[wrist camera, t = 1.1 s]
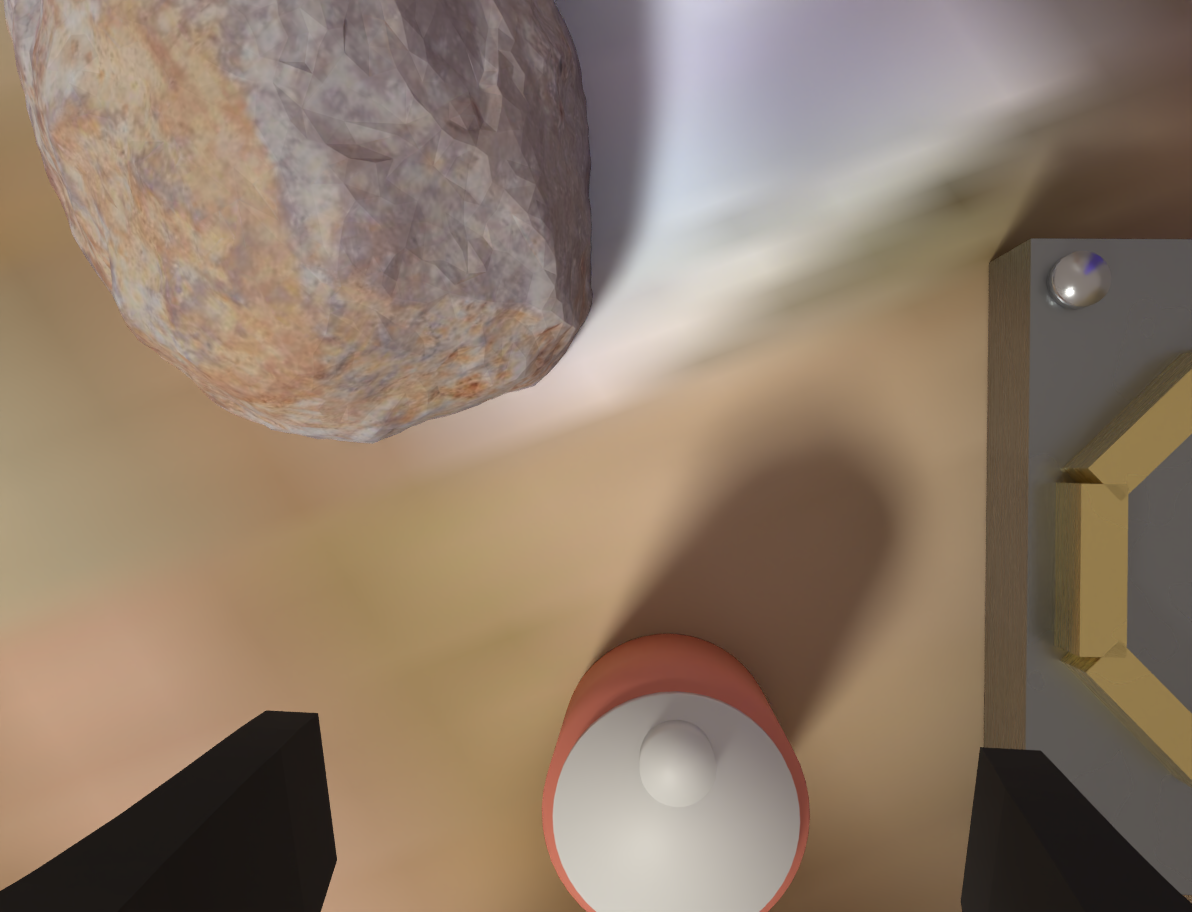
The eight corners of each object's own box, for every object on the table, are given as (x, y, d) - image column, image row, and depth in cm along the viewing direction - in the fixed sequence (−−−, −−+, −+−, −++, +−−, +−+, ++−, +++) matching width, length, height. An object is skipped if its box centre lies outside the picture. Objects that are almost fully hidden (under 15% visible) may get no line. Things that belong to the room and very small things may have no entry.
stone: (225, -144, 30) (-208, -176, 23) (407, -492, 23) (-150, -689, 16) (498, 429, 29) (139, 569, 23) (773, 263, 22) (364, 396, 15)
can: (772, 847, 23) (817, 979, 17) (562, 841, 24) (533, 970, 18) (774, 635, 23) (821, 693, 17) (564, 631, 24) (537, 688, 18)
